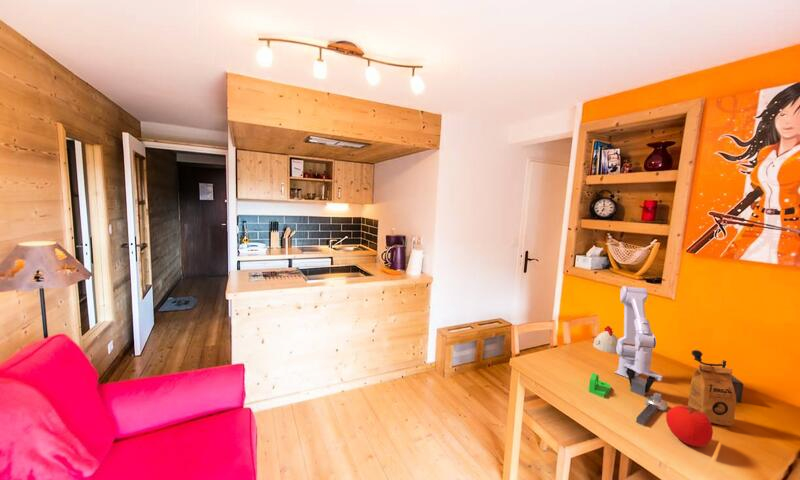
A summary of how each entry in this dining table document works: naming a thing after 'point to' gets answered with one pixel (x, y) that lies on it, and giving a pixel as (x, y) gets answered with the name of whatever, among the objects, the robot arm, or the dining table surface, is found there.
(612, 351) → the kitchen timer
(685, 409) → the tomato
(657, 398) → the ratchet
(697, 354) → the manual coffee grinder
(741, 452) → the dining table surface
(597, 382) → the mechanical part
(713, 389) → the coffee package
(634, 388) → the grey square block
